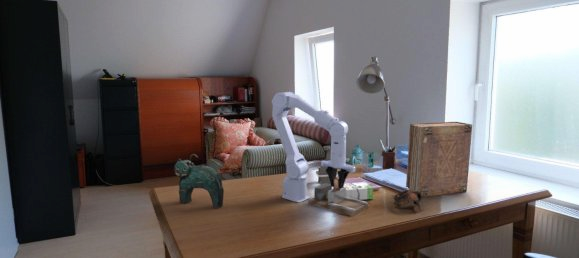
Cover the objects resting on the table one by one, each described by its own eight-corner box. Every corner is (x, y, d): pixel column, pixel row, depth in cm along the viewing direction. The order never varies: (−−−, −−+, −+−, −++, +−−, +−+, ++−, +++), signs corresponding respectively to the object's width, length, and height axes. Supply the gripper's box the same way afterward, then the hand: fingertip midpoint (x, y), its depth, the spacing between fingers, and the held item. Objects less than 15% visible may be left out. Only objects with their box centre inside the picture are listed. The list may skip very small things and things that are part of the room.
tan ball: (324, 201, 151) (322, 192, 151) (329, 198, 154) (327, 190, 154) (332, 200, 149) (330, 191, 149) (337, 198, 151) (335, 189, 151)
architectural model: (310, 190, 169) (310, 166, 167) (303, 179, 185) (303, 157, 184) (350, 189, 172) (351, 165, 170) (340, 178, 188) (340, 156, 186)
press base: (308, 203, 151) (308, 187, 150) (325, 196, 160) (325, 181, 159) (352, 216, 138) (352, 199, 137) (368, 207, 148) (368, 191, 146)
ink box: (373, 187, 156) (346, 189, 153) (373, 199, 156) (346, 201, 154) (365, 181, 164) (339, 183, 161) (364, 192, 165) (338, 194, 162)
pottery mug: (413, 216, 140) (402, 196, 141) (396, 219, 148) (386, 200, 149) (432, 202, 146) (422, 183, 147) (415, 206, 154) (405, 187, 155)
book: (419, 197, 160) (423, 126, 155) (405, 190, 168) (409, 123, 164) (467, 191, 168) (472, 124, 163) (451, 185, 177) (456, 121, 172)
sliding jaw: (327, 203, 147) (328, 179, 146) (339, 197, 153) (339, 175, 152) (334, 204, 145) (335, 181, 144) (345, 199, 151) (346, 176, 150)
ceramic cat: (174, 203, 150) (172, 153, 147) (184, 198, 156) (182, 150, 153) (218, 210, 143) (217, 158, 140) (226, 204, 149) (226, 154, 146)
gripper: (360, 153, 145) (358, 188, 147) (328, 148, 154) (327, 181, 156) (350, 157, 139) (349, 192, 142) (318, 151, 149) (317, 185, 151)
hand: (337, 187), depth 148 cm, fingers closed on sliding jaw, 3 cm apart
